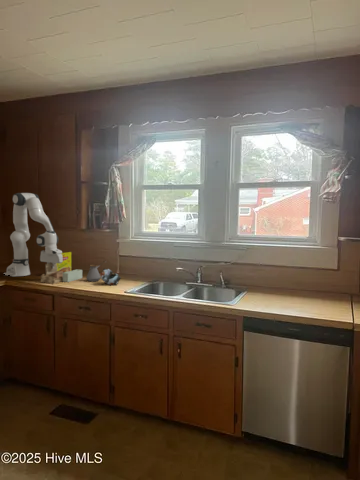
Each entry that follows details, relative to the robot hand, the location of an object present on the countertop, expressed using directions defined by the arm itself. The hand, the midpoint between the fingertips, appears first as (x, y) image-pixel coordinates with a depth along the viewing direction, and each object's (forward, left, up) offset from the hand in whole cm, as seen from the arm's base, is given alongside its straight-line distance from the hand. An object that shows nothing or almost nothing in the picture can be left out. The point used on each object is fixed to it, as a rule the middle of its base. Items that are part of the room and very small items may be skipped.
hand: (51, 267), depth 282 cm
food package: (-4, +20, -10) cm, 23 cm away
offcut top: (+6, 0, -6) cm, 9 cm away
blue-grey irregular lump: (+50, +9, -10) cm, 52 cm away
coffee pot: (+32, +18, -10) cm, 38 cm away
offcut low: (+6, 0, -10) cm, 12 cm away
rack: (+4, 0, -10) cm, 11 cm away
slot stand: (+14, +9, -10) cm, 19 cm away
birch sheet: (0, 0, -10) cm, 10 cm away
